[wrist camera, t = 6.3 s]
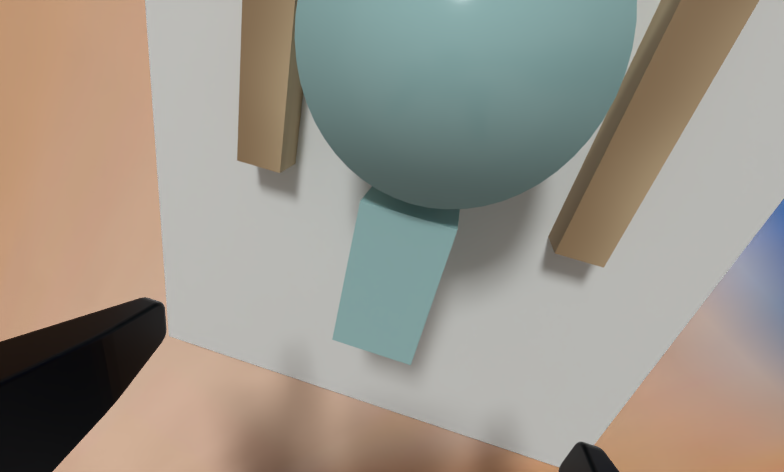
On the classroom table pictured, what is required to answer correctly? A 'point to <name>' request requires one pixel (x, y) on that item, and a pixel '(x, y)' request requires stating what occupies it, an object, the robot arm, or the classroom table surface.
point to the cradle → (610, 147)
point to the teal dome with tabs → (447, 126)
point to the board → (454, 249)
